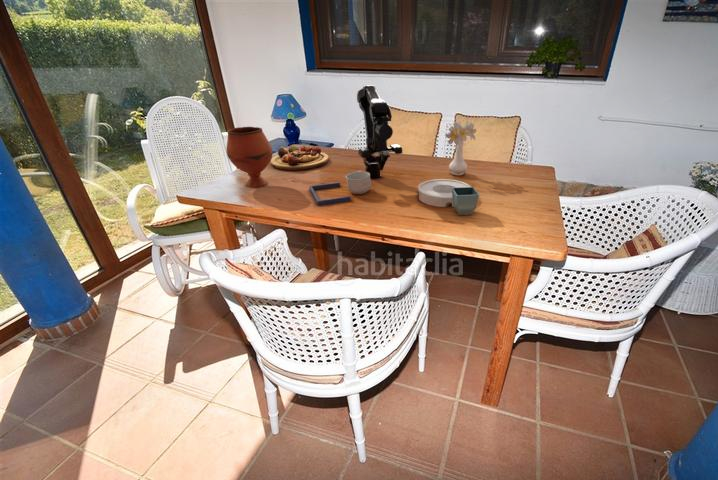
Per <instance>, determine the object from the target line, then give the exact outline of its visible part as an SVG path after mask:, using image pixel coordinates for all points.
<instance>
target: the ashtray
mask: <svg viewBox="0 0 718 480" xmlns="http://www.w3.org/2000/svg"><path fill="white" fill-rule="evenodd" d="M460 187H472V186H471V185H470V184H468V183H466V182H463V181H461V180H456V179H449V178H438V179H429V180H426V181H425V180H424V181H423V182H421V183H419V184H418V186H417V196H418V200H419V201H420V202H422V203H424V204H426V205H429V206H433V207H438V208H446V207H448V206H450V205H451V207H452V208H455V207H454V204H453V199H452V188H460Z"/></svg>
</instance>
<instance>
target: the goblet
mask: <svg viewBox="0 0 718 480" xmlns="http://www.w3.org/2000/svg"><path fill="white" fill-rule="evenodd" d="M226 131H227V142H226V155H227V159H229V161H230V162H231V164H232V165H233V166H235V167H236V168H237V169H238V170H240V171H242V172H244V173H245V174H246V173H247V176H248V177H249V179H248V181H246V186H247V187H249V188H258V187H264V186H265V185H266V184H267V182H266V180H265V179H264V178H263V177H262V176H261V175H262V172H263V171H264V170H265V169H266V168H267V167H268V166H269V164H271V163H270V161H271V159H272V158H273V148H272V146H271V143H270V141H269V140H268V138H267V136H266V135H265V133H264V132H263V128H262V127H258V126H241V127H234V128H233V127H232V128H229V129H227V130H226Z"/></svg>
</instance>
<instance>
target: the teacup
mask: <svg viewBox="0 0 718 480" xmlns="http://www.w3.org/2000/svg"><path fill="white" fill-rule="evenodd" d="M345 181H346V187H347V189H348V191H349V192H351V193H352V194H353V195H363V194H366V193H367V192H368V191H369V190H370V189H371V184H372V182H371V179H370V173H368V172H365V170H364V171H363V170H358V171H351V172H349V173H346V175H345Z"/></svg>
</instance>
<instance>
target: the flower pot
mask: <svg viewBox="0 0 718 480" xmlns="http://www.w3.org/2000/svg"><path fill="white" fill-rule="evenodd" d="M479 198H480V193H479V192H478V191H477V190H476V188H475V187H474V186H471V187H460V188H452V199H453V204H454V207H453V208H454V210H455V212H456V213H457V215H459V216H467V215H468V216H470V215H472V214H473V213H474V212H475V210H476V209H477V205H478V202H479Z"/></svg>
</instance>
